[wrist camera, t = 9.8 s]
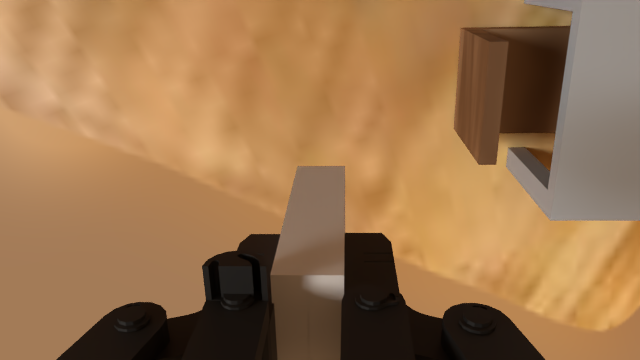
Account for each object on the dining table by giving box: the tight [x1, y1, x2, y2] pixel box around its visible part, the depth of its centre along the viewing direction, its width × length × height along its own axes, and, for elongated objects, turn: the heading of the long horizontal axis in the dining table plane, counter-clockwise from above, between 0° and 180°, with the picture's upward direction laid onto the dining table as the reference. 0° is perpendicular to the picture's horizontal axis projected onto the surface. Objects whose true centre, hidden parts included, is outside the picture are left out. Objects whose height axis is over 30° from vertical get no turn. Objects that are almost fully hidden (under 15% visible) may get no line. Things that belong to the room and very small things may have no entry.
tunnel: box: [506, 0, 640, 221], centre depth 33 cm, size 9×13×9 cm
